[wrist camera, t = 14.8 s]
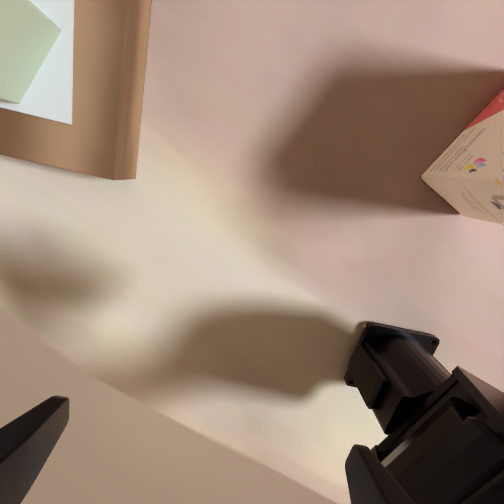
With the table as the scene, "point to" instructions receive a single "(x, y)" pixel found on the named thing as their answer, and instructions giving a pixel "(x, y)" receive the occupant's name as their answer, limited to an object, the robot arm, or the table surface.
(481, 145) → the ink cartridge box
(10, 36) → the sage pillar
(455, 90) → the table surface
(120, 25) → the walnut base plate
